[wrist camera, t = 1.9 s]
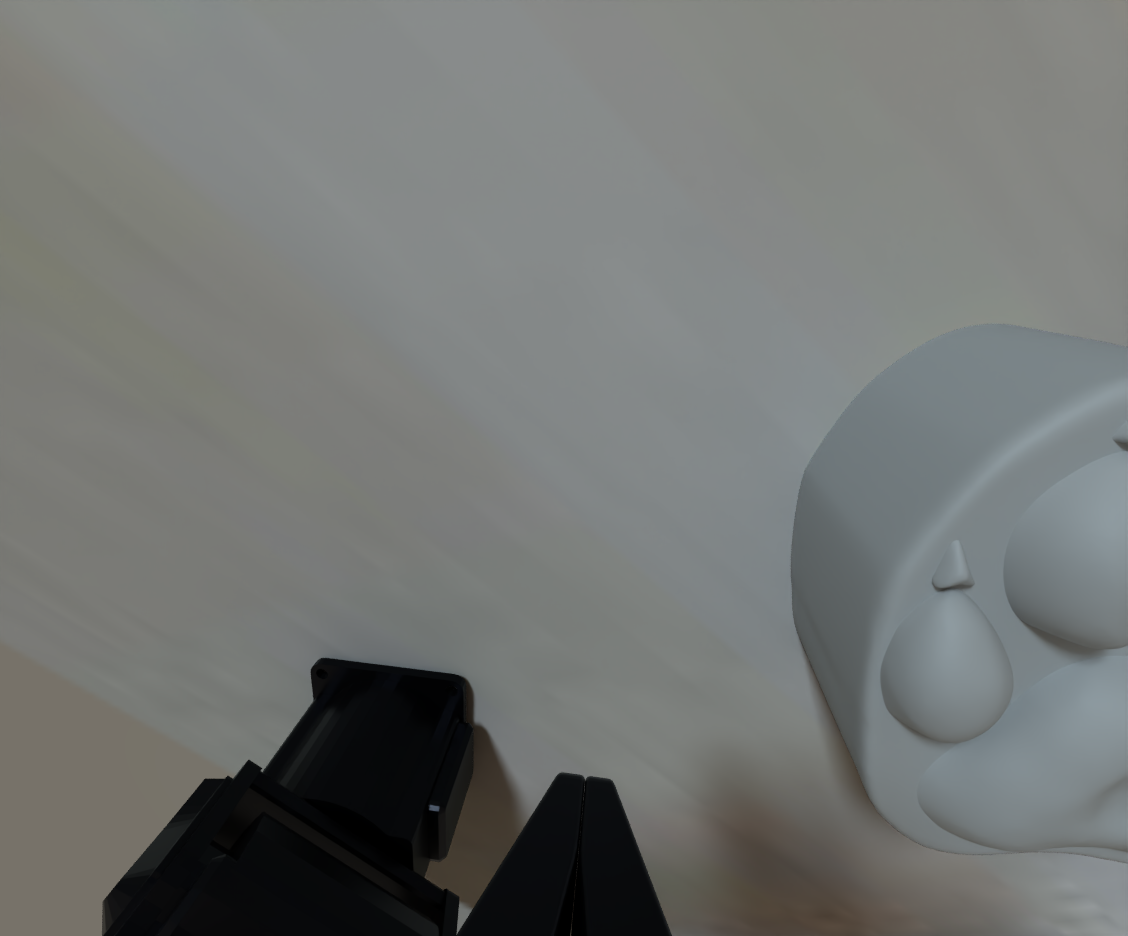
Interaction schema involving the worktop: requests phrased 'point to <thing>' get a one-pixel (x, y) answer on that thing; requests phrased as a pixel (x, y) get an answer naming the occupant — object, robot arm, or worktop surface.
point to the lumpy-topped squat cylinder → (978, 591)
